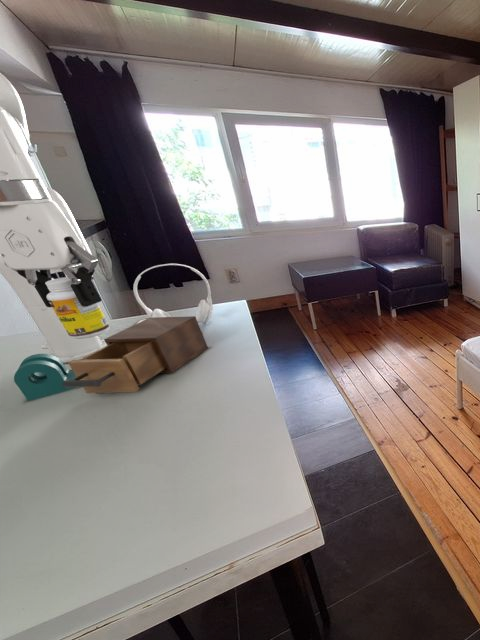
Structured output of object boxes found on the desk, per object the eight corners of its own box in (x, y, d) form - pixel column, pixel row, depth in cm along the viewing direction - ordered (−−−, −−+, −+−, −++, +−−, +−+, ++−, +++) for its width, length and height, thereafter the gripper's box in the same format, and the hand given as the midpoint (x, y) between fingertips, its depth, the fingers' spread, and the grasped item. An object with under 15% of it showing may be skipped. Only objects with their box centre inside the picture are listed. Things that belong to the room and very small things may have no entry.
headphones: (223, 322, 119) (200, 261, 110) (153, 338, 109) (122, 273, 100) (220, 316, 124) (198, 257, 115) (153, 331, 115) (124, 268, 105)
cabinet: (172, 373, 90) (155, 337, 85) (123, 374, 90) (103, 339, 86) (208, 348, 102) (195, 316, 97) (164, 349, 102) (149, 317, 98)
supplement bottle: (63, 338, 65) (29, 283, 61) (98, 326, 70) (70, 274, 65) (83, 341, 64) (50, 285, 59) (118, 329, 69) (90, 276, 64)
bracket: (28, 400, 81) (6, 370, 77) (33, 388, 85) (13, 359, 82) (131, 372, 91) (116, 343, 87) (131, 362, 96) (117, 335, 92)
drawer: (116, 404, 76) (98, 372, 73) (65, 405, 77) (43, 373, 73) (176, 364, 92) (163, 336, 88) (133, 365, 92) (118, 337, 89)
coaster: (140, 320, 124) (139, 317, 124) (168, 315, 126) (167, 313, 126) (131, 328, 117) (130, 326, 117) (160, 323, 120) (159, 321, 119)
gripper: (-72, 197, 53) (4, 313, 61) (40, 194, 52) (102, 311, 61) (-11, 193, 60) (51, 298, 68) (89, 190, 59) (139, 296, 67)
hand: (74, 303), depth 64 cm, fingers closed on supplement bottle, 5 cm apart
